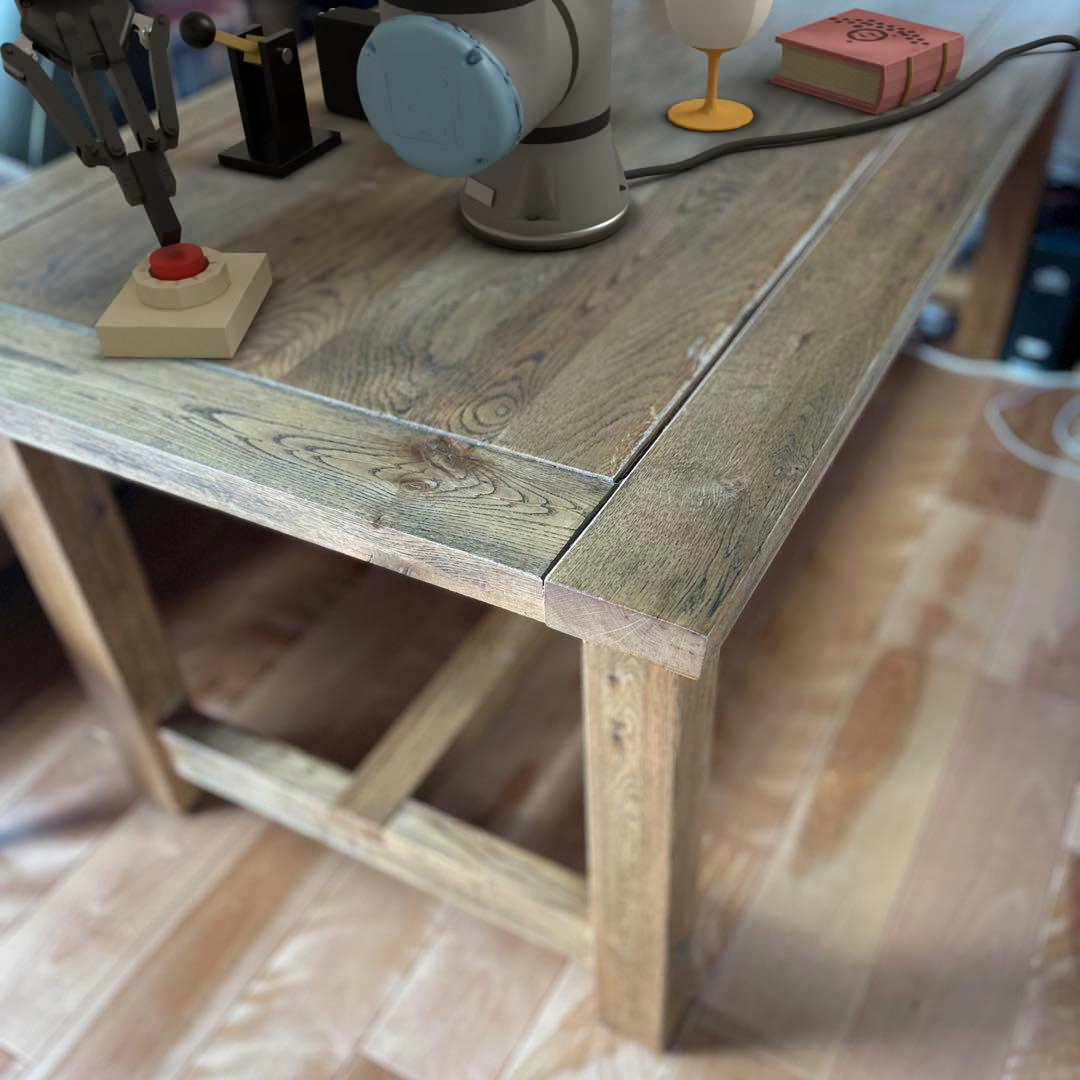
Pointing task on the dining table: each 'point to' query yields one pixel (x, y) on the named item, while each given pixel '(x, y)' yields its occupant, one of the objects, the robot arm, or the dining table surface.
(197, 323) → the power block
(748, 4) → the cup
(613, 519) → the dining table surface
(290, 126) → the lamp switch
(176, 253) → the power button
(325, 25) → the electronic device
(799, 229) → the dining table surface
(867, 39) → the book
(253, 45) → the lever
